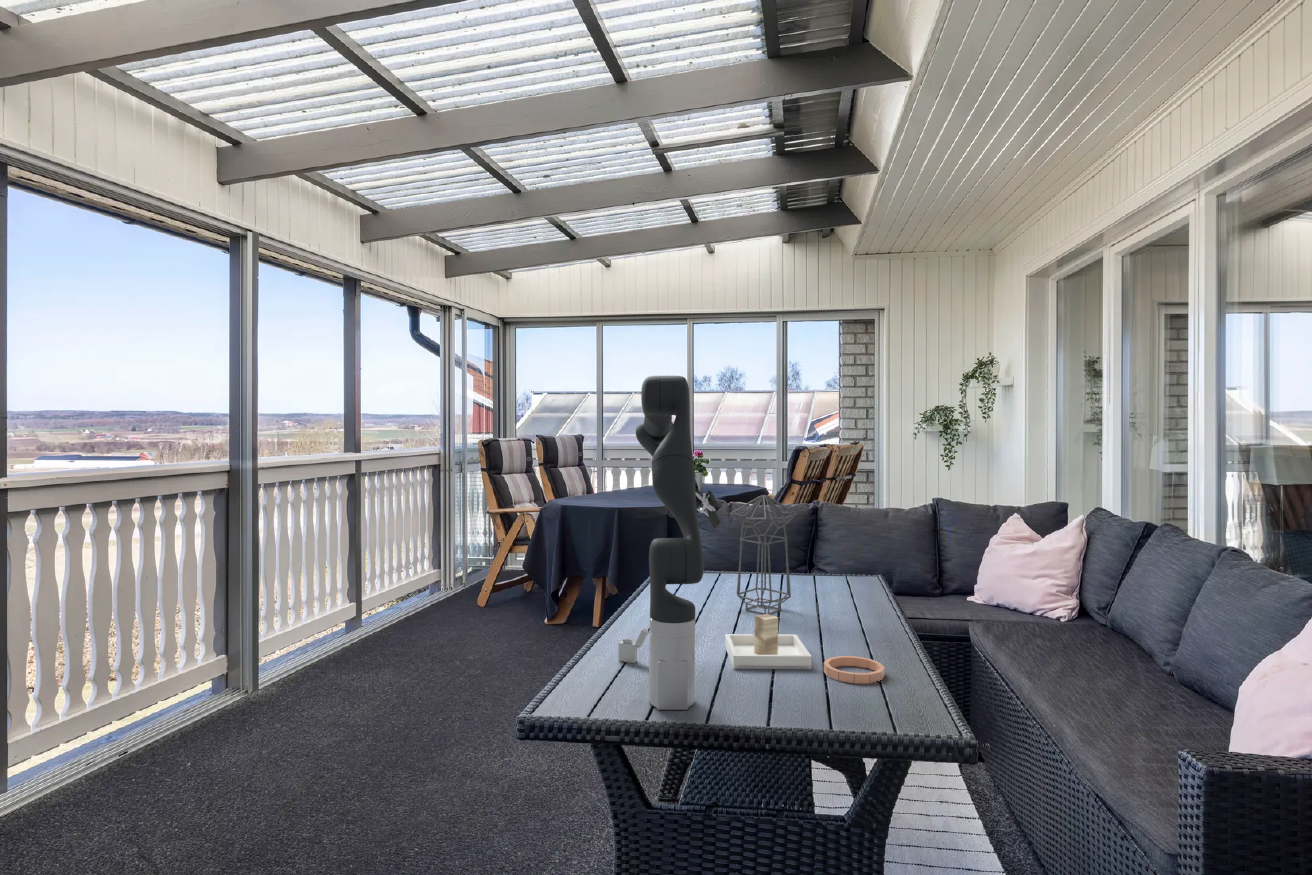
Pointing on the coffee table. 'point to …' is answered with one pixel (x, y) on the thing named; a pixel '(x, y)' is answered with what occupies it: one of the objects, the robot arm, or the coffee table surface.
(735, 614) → the coffee table surface
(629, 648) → the lighter
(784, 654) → the tray
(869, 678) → the orange ring
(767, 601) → the geometric lantern
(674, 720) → the coffee table surface
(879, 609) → the coffee table surface
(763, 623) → the birch block
